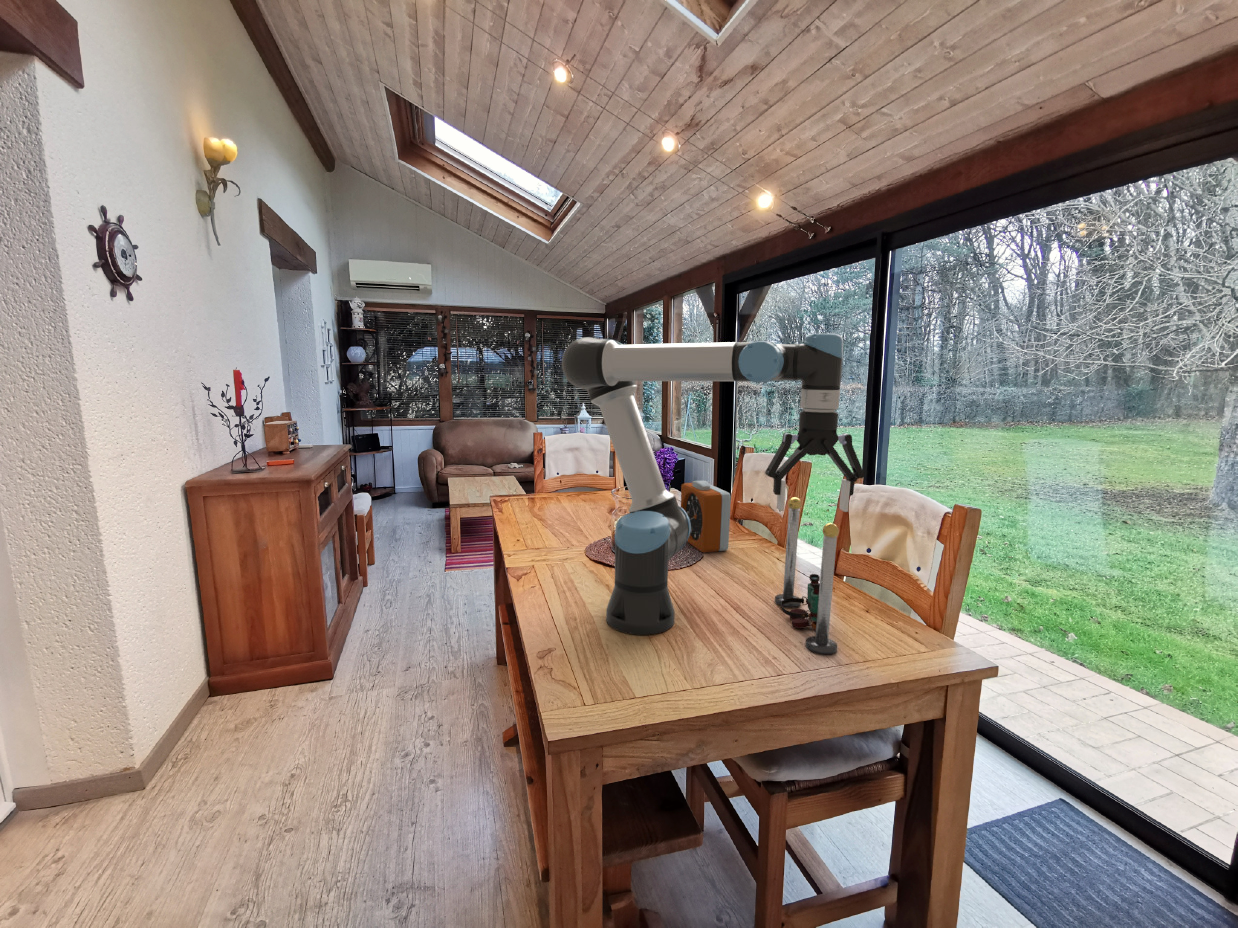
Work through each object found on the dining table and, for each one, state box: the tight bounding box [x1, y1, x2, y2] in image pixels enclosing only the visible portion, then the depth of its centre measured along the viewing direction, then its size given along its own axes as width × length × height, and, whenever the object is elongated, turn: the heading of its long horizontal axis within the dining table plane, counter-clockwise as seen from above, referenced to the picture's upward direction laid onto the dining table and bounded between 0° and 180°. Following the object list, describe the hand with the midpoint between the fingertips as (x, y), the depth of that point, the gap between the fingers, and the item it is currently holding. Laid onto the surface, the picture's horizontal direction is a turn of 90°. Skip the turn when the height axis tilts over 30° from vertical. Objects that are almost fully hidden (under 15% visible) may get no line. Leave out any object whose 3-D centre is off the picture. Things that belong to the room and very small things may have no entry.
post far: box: [774, 496, 802, 609], centre depth 133 cm, size 6×6×26 cm
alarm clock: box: [680, 480, 732, 553], centre depth 178 cm, size 18×9×21 cm, turn 17°
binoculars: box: [780, 573, 820, 630], centre depth 124 cm, size 9×11×10 cm
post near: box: [804, 522, 840, 656], centre depth 112 cm, size 6×6×26 cm
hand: (811, 510), depth 120 cm, fingers open, 13 cm apart
